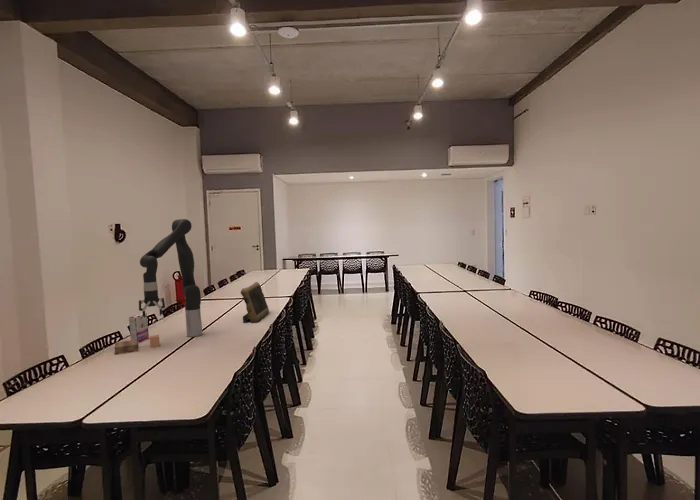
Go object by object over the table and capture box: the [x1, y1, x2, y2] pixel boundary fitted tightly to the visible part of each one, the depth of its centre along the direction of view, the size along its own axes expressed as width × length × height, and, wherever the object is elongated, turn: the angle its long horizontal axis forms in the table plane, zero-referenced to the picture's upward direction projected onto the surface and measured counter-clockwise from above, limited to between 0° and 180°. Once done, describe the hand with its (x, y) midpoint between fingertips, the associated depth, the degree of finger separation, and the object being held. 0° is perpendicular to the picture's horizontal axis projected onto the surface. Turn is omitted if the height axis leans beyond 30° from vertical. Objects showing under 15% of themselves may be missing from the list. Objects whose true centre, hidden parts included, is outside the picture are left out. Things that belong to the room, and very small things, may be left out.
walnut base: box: [114, 339, 139, 355], centre depth 262 cm, size 12×12×4 cm
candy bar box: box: [128, 312, 150, 343], centre depth 281 cm, size 11×5×16 cm, turn 168°
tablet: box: [240, 281, 270, 324], centre depth 333 cm, size 33×14×25 cm, turn 179°
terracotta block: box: [149, 334, 161, 348], centre depth 268 cm, size 5×5×6 cm
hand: (152, 316), depth 267 cm, fingers open, 8 cm apart
